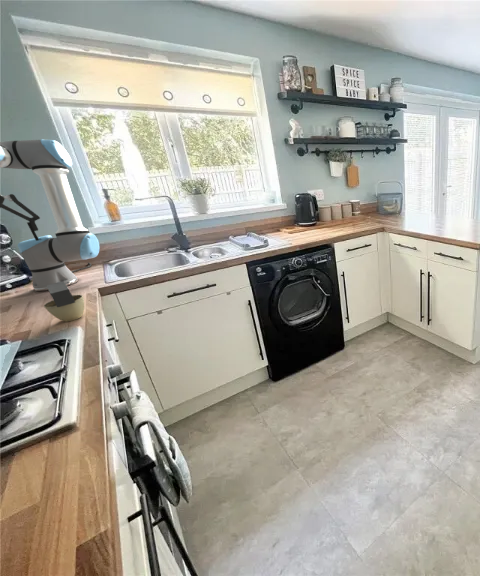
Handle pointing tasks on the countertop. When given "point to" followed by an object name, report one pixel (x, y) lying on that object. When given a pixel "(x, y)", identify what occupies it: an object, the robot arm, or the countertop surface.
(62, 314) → the olive yellow bowl
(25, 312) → the countertop surface
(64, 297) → the bar
